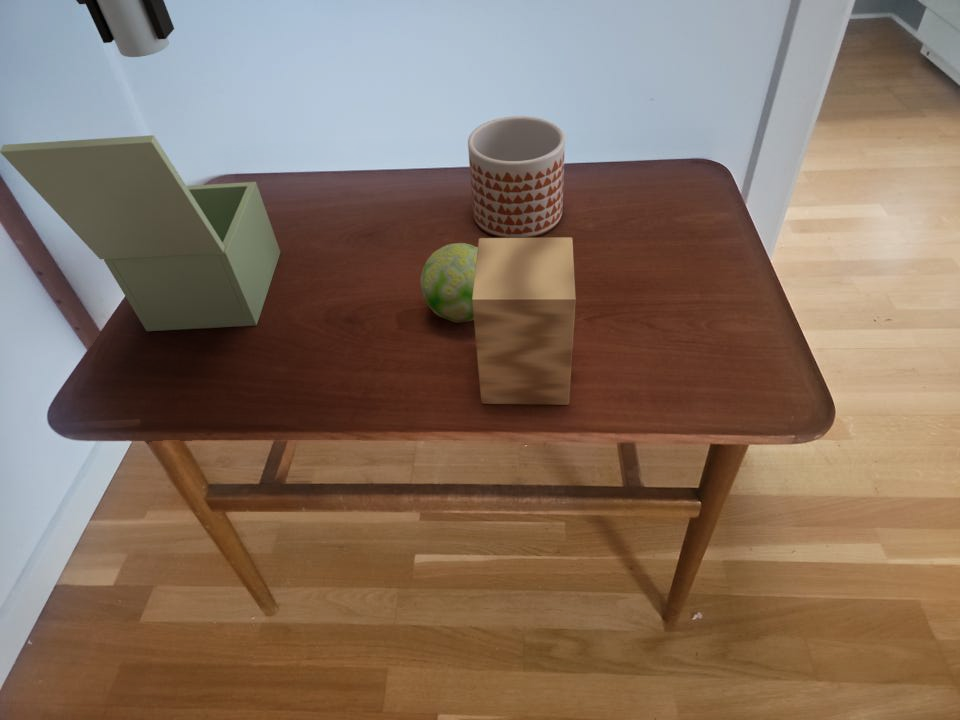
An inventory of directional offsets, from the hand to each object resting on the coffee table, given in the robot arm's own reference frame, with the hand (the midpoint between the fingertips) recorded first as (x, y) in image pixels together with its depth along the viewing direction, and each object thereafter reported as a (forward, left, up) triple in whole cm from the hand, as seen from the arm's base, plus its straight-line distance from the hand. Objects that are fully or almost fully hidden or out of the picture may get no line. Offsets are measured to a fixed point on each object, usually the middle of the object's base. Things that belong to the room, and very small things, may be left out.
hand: (139, 35), depth 65 cm
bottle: (0, 0, -1) cm, 1 cm away
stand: (+19, -36, -35) cm, 54 cm away
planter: (+40, -11, -35) cm, 54 cm away
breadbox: (-3, +5, -35) cm, 35 cm away
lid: (-9, -3, -14) cm, 17 cm away
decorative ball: (+20, -23, -35) cm, 46 cm away
